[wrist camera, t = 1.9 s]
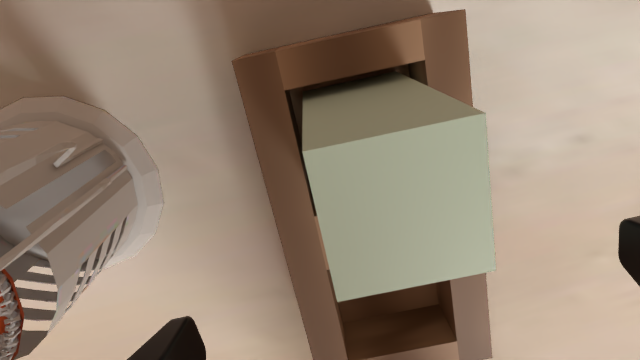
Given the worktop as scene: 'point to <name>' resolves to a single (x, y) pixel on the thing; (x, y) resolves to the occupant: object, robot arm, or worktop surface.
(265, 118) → the pocket holder
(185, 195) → the worktop surface
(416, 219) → the green block
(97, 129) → the french press
